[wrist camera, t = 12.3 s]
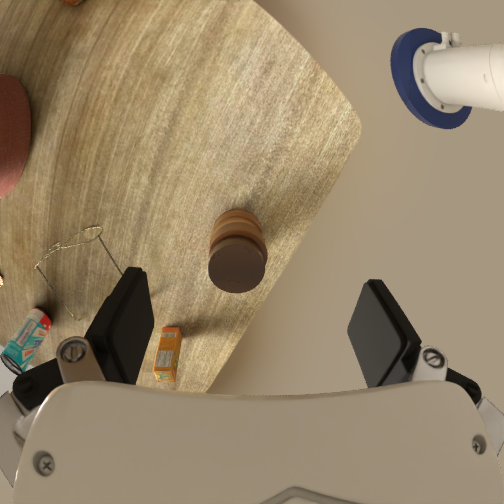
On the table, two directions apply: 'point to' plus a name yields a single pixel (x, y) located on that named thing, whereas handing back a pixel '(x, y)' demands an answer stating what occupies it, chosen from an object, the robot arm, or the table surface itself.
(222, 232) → the chip pile
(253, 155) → the table surface
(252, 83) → the table surface
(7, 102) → the planter
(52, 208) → the table surface
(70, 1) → the pastry
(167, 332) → the supplement box
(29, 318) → the beverage can
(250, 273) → the walnut chip
